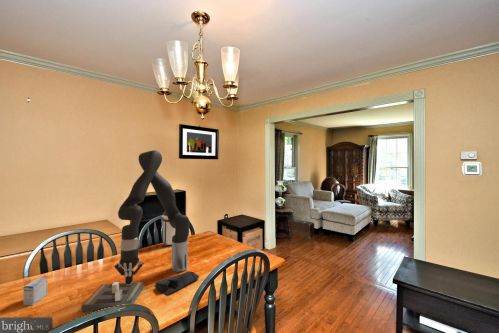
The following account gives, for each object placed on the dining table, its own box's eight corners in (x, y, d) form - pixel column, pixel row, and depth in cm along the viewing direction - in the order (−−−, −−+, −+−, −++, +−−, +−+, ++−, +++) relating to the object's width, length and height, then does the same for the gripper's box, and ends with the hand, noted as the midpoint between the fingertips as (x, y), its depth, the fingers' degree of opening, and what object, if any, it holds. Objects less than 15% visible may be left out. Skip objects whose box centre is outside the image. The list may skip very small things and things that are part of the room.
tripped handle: (118, 290, 109) (118, 282, 109) (116, 293, 106) (116, 284, 106) (114, 290, 109) (114, 282, 108) (112, 293, 106) (112, 284, 106)
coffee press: (170, 249, 171) (170, 209, 170) (157, 244, 179) (157, 207, 179) (188, 242, 185) (188, 206, 185) (175, 239, 194) (175, 204, 193)
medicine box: (37, 295, 109) (37, 277, 109) (47, 295, 110) (47, 277, 110) (22, 305, 102) (22, 286, 102) (33, 305, 102) (33, 286, 102)
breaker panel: (143, 287, 117) (143, 274, 117) (131, 308, 101) (131, 292, 101) (101, 290, 114) (101, 276, 114) (81, 312, 98) (81, 295, 98)
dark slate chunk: (203, 281, 126) (203, 272, 125) (165, 298, 109) (165, 288, 109) (188, 272, 136) (188, 264, 136) (151, 286, 120) (151, 277, 120)
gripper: (146, 244, 113) (145, 278, 113) (118, 244, 111) (117, 280, 111) (141, 249, 106) (140, 286, 106) (111, 250, 104) (110, 288, 104)
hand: (128, 283), depth 108 cm, fingers closed
